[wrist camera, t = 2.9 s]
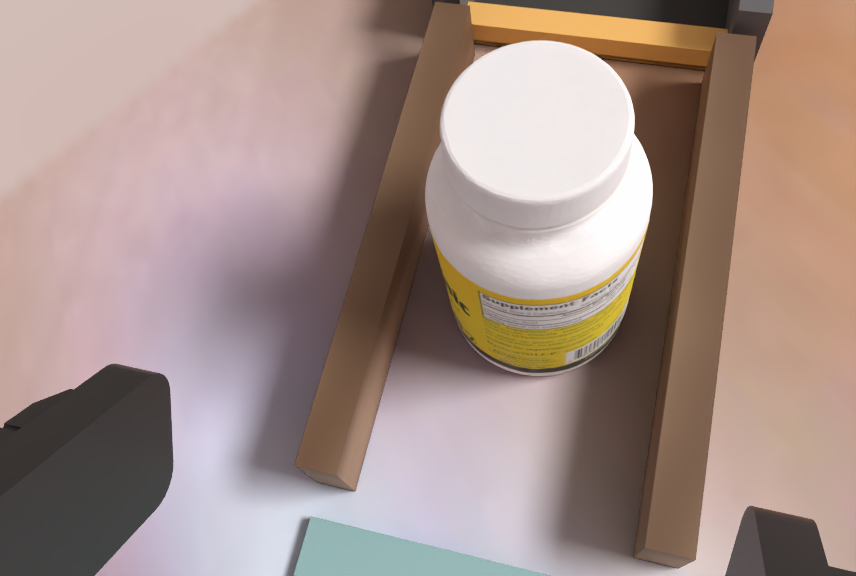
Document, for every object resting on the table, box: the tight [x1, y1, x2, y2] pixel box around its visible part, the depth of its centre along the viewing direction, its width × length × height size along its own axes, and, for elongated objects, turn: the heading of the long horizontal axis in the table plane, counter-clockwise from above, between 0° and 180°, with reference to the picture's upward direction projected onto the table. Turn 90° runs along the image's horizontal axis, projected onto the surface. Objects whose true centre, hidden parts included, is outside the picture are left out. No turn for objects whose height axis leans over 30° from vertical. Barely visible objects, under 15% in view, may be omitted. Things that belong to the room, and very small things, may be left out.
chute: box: [294, 2, 757, 568], centre depth 25 cm, size 10×16×2 cm, turn 166°
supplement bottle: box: [425, 40, 653, 376], centre depth 21 cm, size 5×5×10 cm
